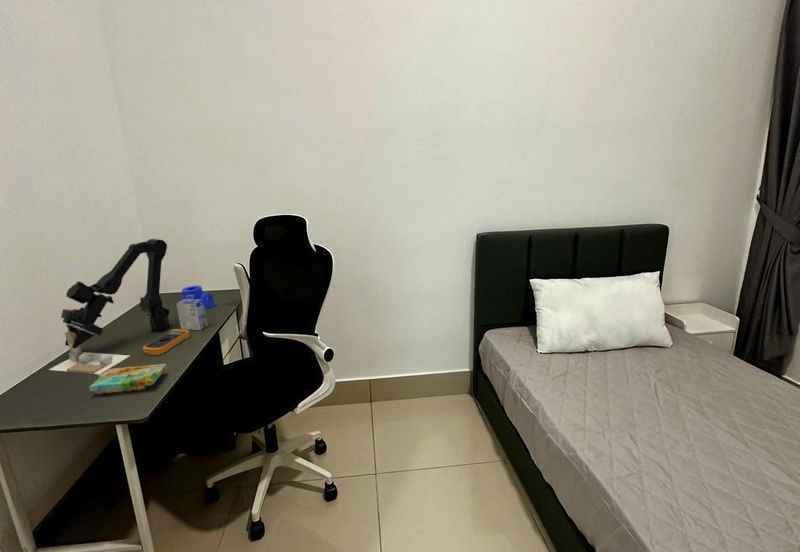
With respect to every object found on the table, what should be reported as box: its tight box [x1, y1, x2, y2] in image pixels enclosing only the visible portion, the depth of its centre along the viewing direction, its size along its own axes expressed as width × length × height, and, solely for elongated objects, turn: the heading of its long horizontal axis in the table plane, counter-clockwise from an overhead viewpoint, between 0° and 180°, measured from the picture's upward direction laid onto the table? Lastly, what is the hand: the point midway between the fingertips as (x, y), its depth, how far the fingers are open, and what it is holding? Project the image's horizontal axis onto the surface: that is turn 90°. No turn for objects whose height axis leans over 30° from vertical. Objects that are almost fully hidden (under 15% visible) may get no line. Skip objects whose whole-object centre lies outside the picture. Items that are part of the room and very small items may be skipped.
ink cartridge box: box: [175, 295, 209, 331], centre depth 200 cm, size 10×6×14 cm, turn 78°
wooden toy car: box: [64, 331, 85, 363], centre depth 174 cm, size 3×5×11 cm
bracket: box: [181, 285, 216, 311], centre depth 229 cm, size 20×9×8 cm, turn 51°
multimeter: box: [142, 328, 191, 356], centre depth 186 cm, size 9×18×3 cm, turn 165°
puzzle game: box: [88, 363, 168, 395], centre depth 157 cm, size 12×5×20 cm
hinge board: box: [48, 351, 130, 378], centre depth 173 cm, size 14×23×4 cm, turn 76°
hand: (69, 346), depth 173 cm, fingers closed on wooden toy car, 5 cm apart
